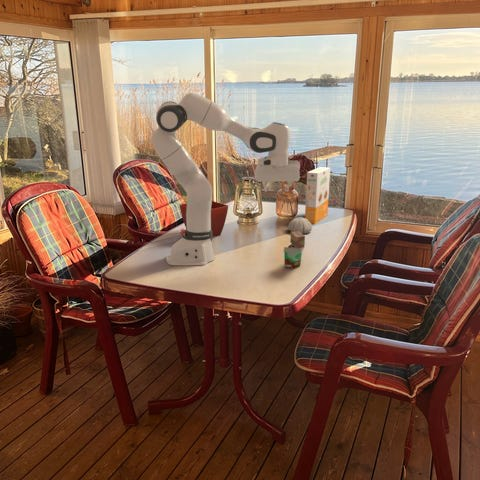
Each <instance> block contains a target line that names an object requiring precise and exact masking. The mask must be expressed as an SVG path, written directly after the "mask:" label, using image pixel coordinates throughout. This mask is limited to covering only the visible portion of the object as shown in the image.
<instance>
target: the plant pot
mask: <svg viewBox="0 0 480 480" xmlns="http://www.w3.org/2000/svg"><path fill="white" fill-rule="evenodd" d="M179 210H180V214H181V218H182V221H183V223H184V226H185V230H186V229H187V222H186V211H187V202H186V203H181V204H179ZM228 210H229V205H228V204H225V203H221V202H217V201H214V200H212V204H211V229H212V238H215V237H218V236H219V237H220V236H222V235H221V234H222V233H223V230H224V227H225V224H226V220H227V216H228Z"/></svg>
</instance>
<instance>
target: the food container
mask: <svg viewBox="0 0 480 480" xmlns="http://www.w3.org/2000/svg"><path fill="white" fill-rule="evenodd" d="M304 249H305V247H304V248H295V247H294V246H293V245H292V244H290V245H288V246H287V247H286V246H284V247H283V252H284V258H283V259H284V269H298V268H299V267H301V262H302V255H303V254H302V253H303V251H304ZM297 267H298V268H297Z"/></svg>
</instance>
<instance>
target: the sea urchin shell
mask: <svg viewBox="0 0 480 480" xmlns="http://www.w3.org/2000/svg"><path fill="white" fill-rule="evenodd" d="M287 229H288V230H289V231H290V232H294V231H300V232H301V233H302V234H303V235H305V234H309V233H310V232H311V231H312V229H313V224H311V223H310V222H309V221H308V220H307V219H305V217H301V216H299V217H295V218H293V219H291V221H290V222H289V223H288V226H287Z"/></svg>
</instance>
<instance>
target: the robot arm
mask: <svg viewBox="0 0 480 480" xmlns="http://www.w3.org/2000/svg"><path fill="white" fill-rule="evenodd" d="M155 117H156V118H155V119H156V124H157V126H158V127H157V129H154V131H153V132H152V134H151V136H150V143H151V145H152V147H153V149H154V150H155V153H156V154H157V155H158V157H159V158H160V159H161V161H162V163H163V164H164V166H166V168H167V169H168V170H169V172H170V173H171V174H172V176H174V178H175V179H176V180H177V182H178V183H179V185H180V186H181V187H182V189H183V190H184V191H185V193H186V203H187V211H186V222H187V229H186V228H185V229H184V228H181V229H180V234H181V235H182V237H181V238H180V239H179V240H178V241H176V242H175V243H173V244H172V246H171V247H170V248H171V249H170V253H168V254H167V255H166V257H165V261H166V263H167V264H168V265H170V266H205V265H206V264H208V263H210V262H212V261H214V260H215V259H216V257H215V254H214V249H213V243H212V241H213V237H212V229H211V204H212V201H213V186H212V184H211V182H210V181H209V180H208V178H207V177H206V176H205V175H204V173H203V172H202V171H201V169H200V168H199V166H198V165H197V163H196V161H195V160H194V159H193V157H192V156H191V155H190V153H189V152H188V150H187V148H185V147H184V145H183V144H182V143H181V141H180V139H179V138H178V137H177V134H176V131H178V130H179V129H181V127H182V126H183V125H184V124H185V123H186V122H187V121H191V122H194V123H195V124H197V125H199V126H202V127H203V128H206V129H208V130H211V131H217V132H218V131H221V132H225V133H228V134H230V135H231V136H234V137H235V138H237V139H239V140H241V141H242V142H243V144H244V145H245V146H246V147H247V148H248V149H249V150H251V151H253V152H254V153H256V154H257V153H258V154H263V153H267V152H268V153H267V154H268V155H266V156H263V157H260V158H258V159H257V163H258V164H257V165H256V166H255V170H254V180H255V181H256V182H259V183H262V186H263V187H264V192H266V193H267V192H270V191H269V187H268V186H266V185H267V182H268V183H269V182H270V183H271V182H275V183H277V182H278V183H279V182H283V183H284V182H285V183H287V184H286V186H284V192H289V189H290V187H291V185H292V184H293V182H299V181H300V179H301V177H300V169H301V163H300V161H298V160H289V146H290V128H289V126H288V125H287V124H284V123H280V122H274V121H273V122H271V123H270V124H269V125H267V126H266V127H262V128H259V127H249V126H246V125H244V124H243V123H241V122H239V121H237V120H235V119H234V118H232V117H231V116H230V115H229V113H228V112H227V110H226V109H224V108H223V107H222V106H221V105H219V104H218V103H216V102H214V101H212V100H211V99H209V98H207V97H204V96H202V95H200V94H197V93H193V92H189V93H187V94H185V95H184V96H183V97H182V98H181V100H180V101H179V103H177V102H175V101H172V100H171V101H165V102H163V103H162V104H161V105H160V106H159V107H158V108H157V111H156V116H155Z"/></svg>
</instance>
